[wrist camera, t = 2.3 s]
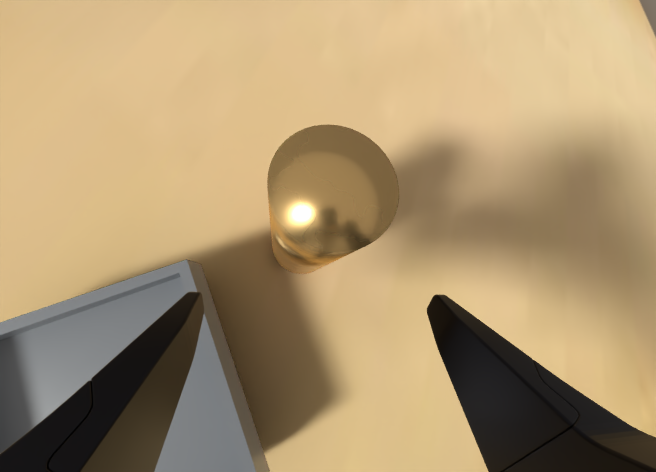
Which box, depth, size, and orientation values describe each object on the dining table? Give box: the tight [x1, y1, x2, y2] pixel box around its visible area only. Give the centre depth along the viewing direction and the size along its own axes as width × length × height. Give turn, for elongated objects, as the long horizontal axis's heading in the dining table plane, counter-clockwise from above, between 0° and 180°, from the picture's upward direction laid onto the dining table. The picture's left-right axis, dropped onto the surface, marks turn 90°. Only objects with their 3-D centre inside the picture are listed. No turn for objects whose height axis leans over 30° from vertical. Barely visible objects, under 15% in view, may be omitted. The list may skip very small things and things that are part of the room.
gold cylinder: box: [268, 125, 399, 274], centre depth 15 cm, size 5×5×12 cm
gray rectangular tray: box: [0, 260, 270, 472], centre depth 15 cm, size 14×12×4 cm
